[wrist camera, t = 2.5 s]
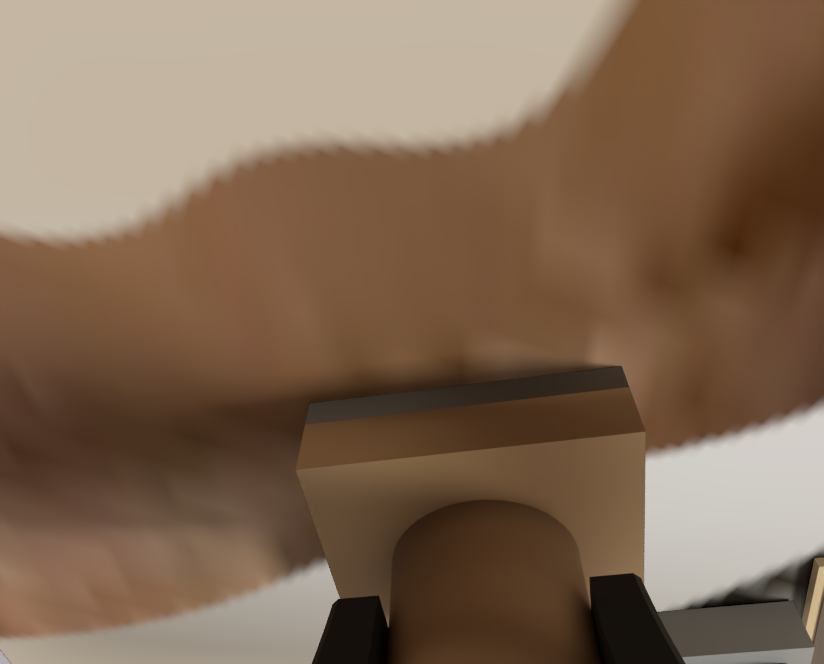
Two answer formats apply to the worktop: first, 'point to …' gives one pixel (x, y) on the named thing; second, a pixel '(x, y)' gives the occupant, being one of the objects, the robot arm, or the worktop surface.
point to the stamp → (481, 511)
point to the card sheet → (815, 610)
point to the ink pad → (740, 634)
